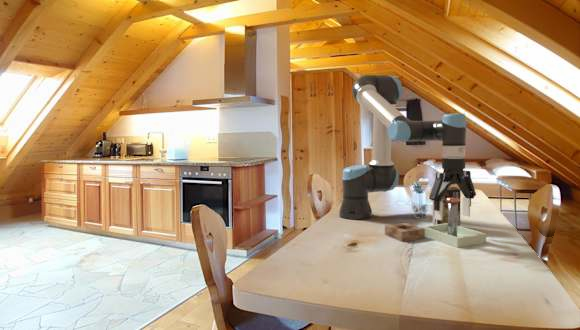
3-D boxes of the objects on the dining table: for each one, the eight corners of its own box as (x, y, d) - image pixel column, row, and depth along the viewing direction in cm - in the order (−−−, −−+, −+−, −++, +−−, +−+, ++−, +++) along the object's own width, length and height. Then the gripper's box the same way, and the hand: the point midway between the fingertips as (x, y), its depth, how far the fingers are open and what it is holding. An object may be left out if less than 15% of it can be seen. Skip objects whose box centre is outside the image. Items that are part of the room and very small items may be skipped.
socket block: (384, 234, 137) (384, 225, 137) (406, 231, 141) (406, 222, 140) (402, 241, 128) (402, 232, 128) (424, 238, 132) (424, 228, 131)
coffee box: (454, 225, 148) (455, 186, 147) (460, 229, 142) (461, 189, 141) (431, 225, 149) (432, 186, 148) (436, 229, 143) (437, 189, 141)
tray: (421, 234, 136) (421, 226, 136) (447, 230, 141) (448, 222, 140) (457, 247, 120) (457, 238, 120) (485, 242, 125) (486, 233, 125)
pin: (442, 236, 132) (443, 198, 130) (452, 234, 133) (452, 197, 132) (452, 239, 128) (453, 200, 126) (461, 237, 129) (462, 198, 128)
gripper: (434, 159, 120) (433, 223, 122) (488, 156, 129) (486, 216, 131) (418, 158, 127) (418, 218, 129) (470, 155, 136) (469, 212, 138)
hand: (452, 217), depth 130 cm, fingers open, 12 cm apart
